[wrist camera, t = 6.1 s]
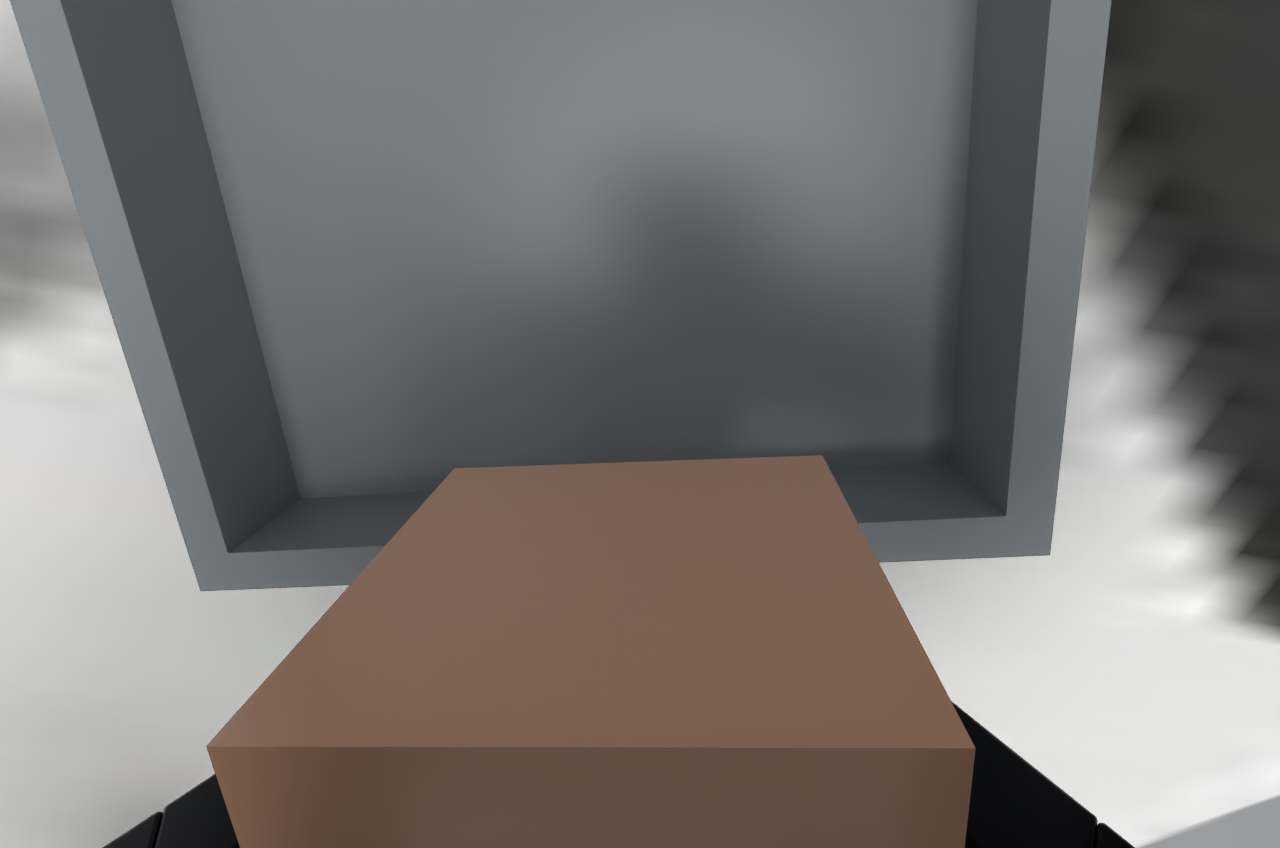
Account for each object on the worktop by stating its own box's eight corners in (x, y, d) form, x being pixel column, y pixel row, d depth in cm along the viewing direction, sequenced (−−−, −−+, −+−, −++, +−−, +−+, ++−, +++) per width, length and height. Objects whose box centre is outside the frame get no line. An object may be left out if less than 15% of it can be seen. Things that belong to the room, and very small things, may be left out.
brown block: (501, 755, 11) (353, 1187, 6) (454, 468, 9) (206, 746, 5) (816, 757, 10) (923, 1223, 6) (822, 455, 9) (974, 748, 4)
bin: (291, 519, 20) (200, 591, 16) (96, -213, 15) (-106, -359, 11) (975, 484, 19) (1049, 555, 15) (1034, -361, 13) (1176, -593, 9)
